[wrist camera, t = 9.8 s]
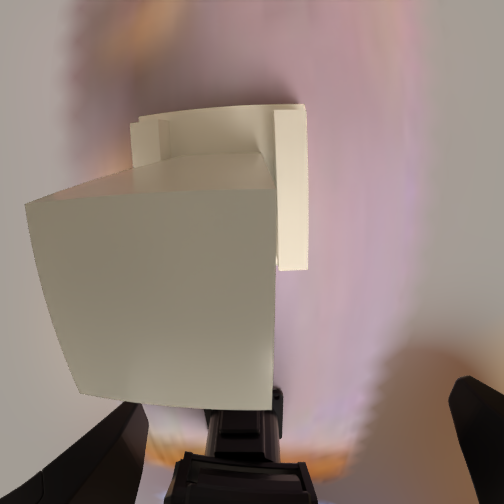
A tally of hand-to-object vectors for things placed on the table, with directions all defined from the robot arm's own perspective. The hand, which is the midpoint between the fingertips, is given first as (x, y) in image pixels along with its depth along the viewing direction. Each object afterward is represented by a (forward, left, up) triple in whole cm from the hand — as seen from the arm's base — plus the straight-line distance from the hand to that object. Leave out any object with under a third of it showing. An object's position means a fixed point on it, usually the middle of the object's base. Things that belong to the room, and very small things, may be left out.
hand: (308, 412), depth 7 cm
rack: (+4, +3, -13) cm, 14 cm away
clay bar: (+4, +3, -12) cm, 13 cm away
